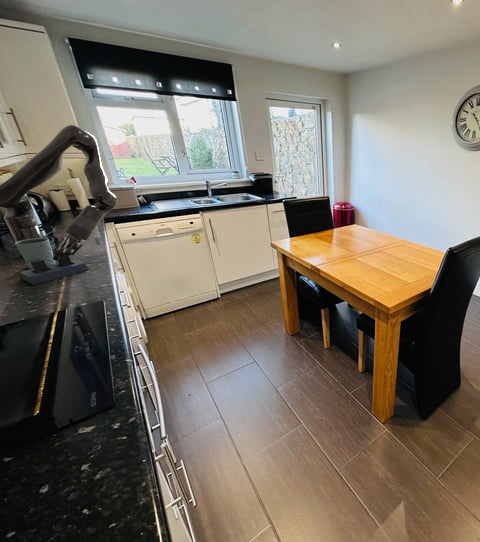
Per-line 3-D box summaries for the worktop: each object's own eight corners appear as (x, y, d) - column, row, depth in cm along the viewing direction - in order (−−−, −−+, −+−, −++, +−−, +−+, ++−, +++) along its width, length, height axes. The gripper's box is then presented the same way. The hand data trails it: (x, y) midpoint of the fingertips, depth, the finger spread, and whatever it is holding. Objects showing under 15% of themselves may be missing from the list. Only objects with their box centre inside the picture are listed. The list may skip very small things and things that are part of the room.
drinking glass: (21, 268, 127) (8, 242, 122) (48, 260, 136) (38, 236, 131) (37, 270, 124) (25, 245, 120) (64, 262, 133) (54, 238, 129)
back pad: (60, 268, 123) (53, 251, 120) (69, 266, 126) (62, 249, 123) (65, 270, 122) (57, 252, 119) (73, 267, 124) (66, 250, 121)
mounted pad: (38, 278, 118) (29, 260, 115) (48, 275, 120) (39, 258, 117) (42, 280, 116) (33, 262, 113) (52, 277, 119) (43, 260, 116)
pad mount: (23, 279, 116) (19, 271, 115) (77, 265, 131) (74, 258, 129) (33, 285, 112) (29, 277, 111) (88, 270, 127) (85, 262, 125)
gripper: (99, 234, 126) (75, 267, 121) (84, 229, 132) (60, 261, 127) (80, 225, 120) (53, 260, 114) (65, 220, 125) (39, 254, 120)
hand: (57, 260), depth 121 cm, fingers closed on back pad, 4 cm apart
